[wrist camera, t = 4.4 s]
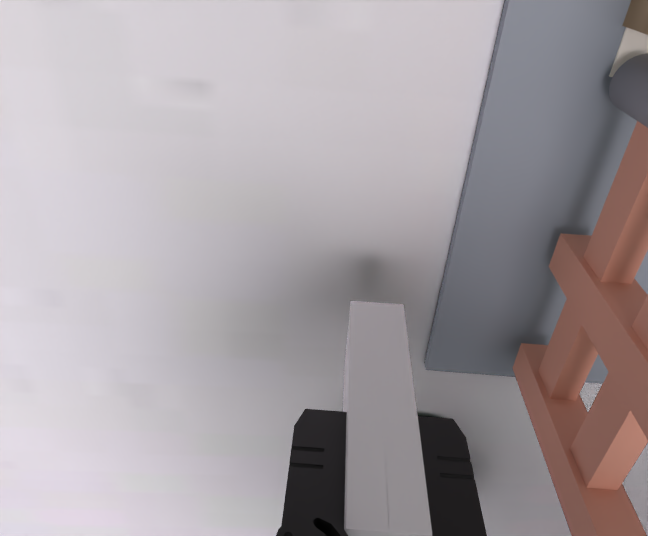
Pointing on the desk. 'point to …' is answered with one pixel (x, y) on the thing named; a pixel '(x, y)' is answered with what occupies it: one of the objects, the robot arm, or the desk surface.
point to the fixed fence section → (637, 16)
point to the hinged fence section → (599, 343)
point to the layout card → (533, 179)
